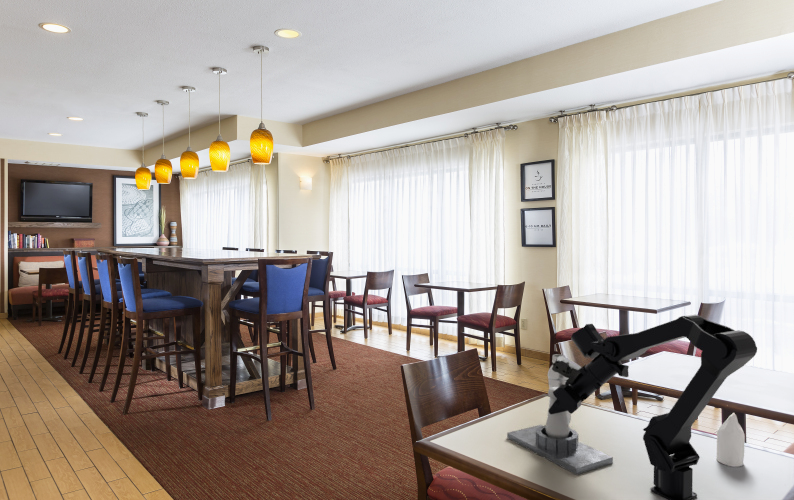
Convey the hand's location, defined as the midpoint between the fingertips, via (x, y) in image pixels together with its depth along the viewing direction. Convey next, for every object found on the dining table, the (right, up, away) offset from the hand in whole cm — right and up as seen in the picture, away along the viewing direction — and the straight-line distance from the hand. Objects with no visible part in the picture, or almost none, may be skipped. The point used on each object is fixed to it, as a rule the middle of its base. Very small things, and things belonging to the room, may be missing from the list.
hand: (551, 410), depth 130 cm
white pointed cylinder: (+40, -10, -8) cm, 42 cm away
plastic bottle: (+7, -10, +16) cm, 20 cm away
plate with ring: (+1, -10, 0) cm, 10 cm away
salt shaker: (+1, -7, -1) cm, 7 cm away
